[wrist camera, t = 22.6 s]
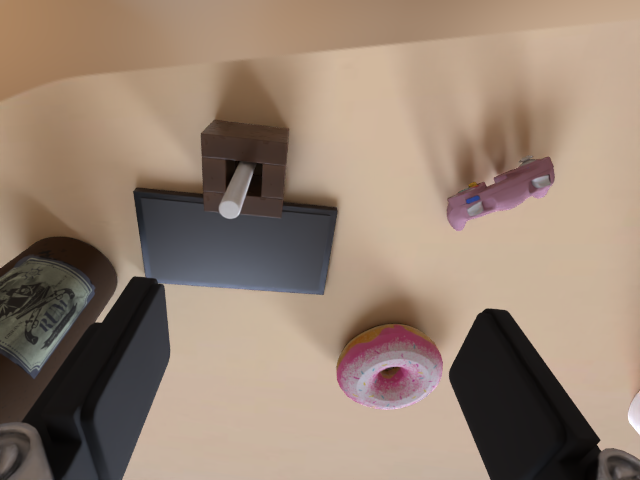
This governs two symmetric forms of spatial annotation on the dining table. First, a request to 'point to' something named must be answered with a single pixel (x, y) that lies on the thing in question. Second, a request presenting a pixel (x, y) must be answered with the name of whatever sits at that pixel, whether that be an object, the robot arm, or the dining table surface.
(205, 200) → the pen holder
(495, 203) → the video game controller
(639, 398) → the potted cactus
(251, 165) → the stylus
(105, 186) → the dining table surface
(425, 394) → the donut
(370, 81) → the dining table surface
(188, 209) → the tablet
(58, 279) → the rum bottle
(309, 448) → the dining table surface
